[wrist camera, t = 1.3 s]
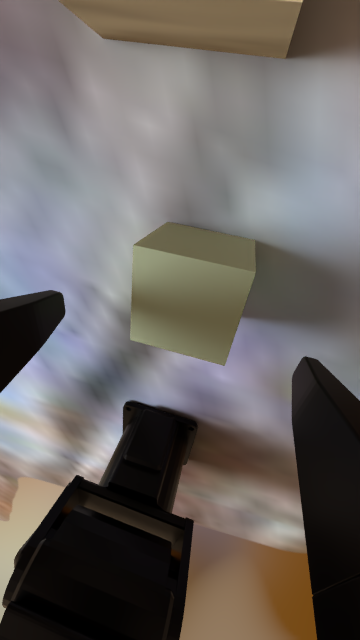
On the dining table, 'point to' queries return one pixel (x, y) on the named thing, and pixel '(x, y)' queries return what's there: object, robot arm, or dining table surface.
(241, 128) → the dining table surface
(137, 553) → the robot arm
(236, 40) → the beech slab
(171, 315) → the sage cube
